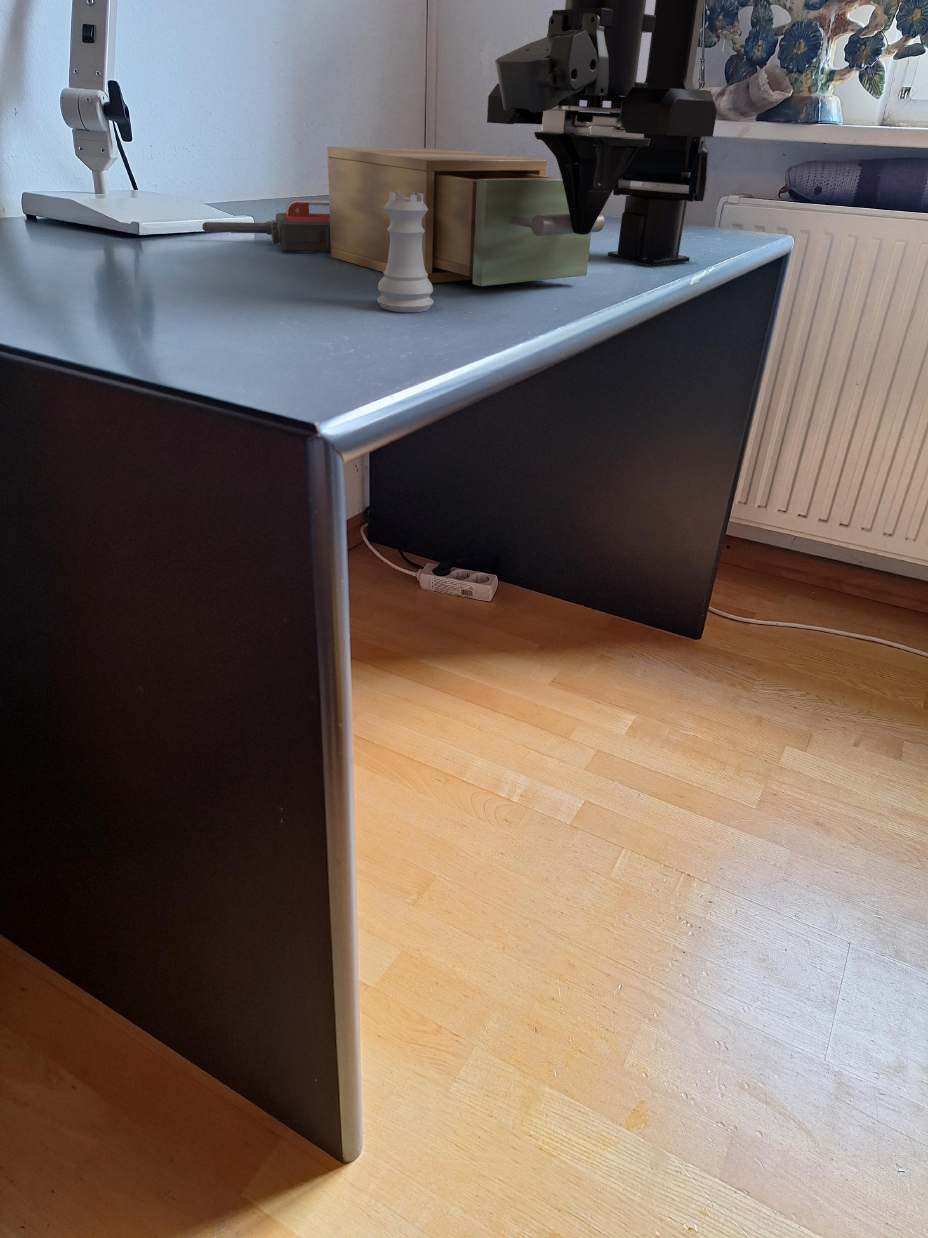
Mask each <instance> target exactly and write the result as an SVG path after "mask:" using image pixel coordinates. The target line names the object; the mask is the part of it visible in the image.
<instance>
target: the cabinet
mask: <svg viewBox="0 0 928 1238" xmlns="http://www.w3.org/2000/svg"><path fill="white" fill-rule="evenodd" d="M326 149H327V178H328V179H327V181H328V201H329V205H328V207H329V208H328V209H329V214H330V242H331V252H330V257H331V258H333V259H336V260H338V261H339V260H340V261H343V262H347V263H350V264H353V265H357V266H359V267H364V268H366V269H367V268H368V269H371V270H373V271H374V270H375V271H377V272H381V273H383V272H384V271H385V270H386V267H387V263H388V256H389V248H390V233H389V232H388V230H387V229H388V227H389V226H390V222H391V220H390V216H389V214H388V213H387V211H386V209H385V208H384V206H385V205H386V203H387V202H388V200H389V192H395V194H396V192H403V195H404V197H408V192H415V195H417V193H422V194H423V202H424V203H425V205H426V206H427V208H428V210H427V212H426V214H425V215H424V217H423V218H422V228H423V229H424V231H425V232H424V233H423V235H422V252H423V262H424V267H425V272H426V273H428V277H427V278H428V280H429V281H430V282H431V284H440V283H441V284H442V283H450V282H459V281H469V280H473V276H466V275H462V274H458V273H454V272H450V271H447V270H443V269H439V268H435V267H432V254H433V211H434V171H513V172H521V173H528V174H536V175H544V176H547V164H548V160H547V159H541V158H531V157H524V156H515V155H505V154H497V153H488V152H479V151H471V150H462V149H453V148H444V147H436V148H435V147H371V146H370V147H368V146H367V147H365V146H364V147H362V146H361V147H359V146H350V147H349V146H328V147H327V148H326Z"/></svg>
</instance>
